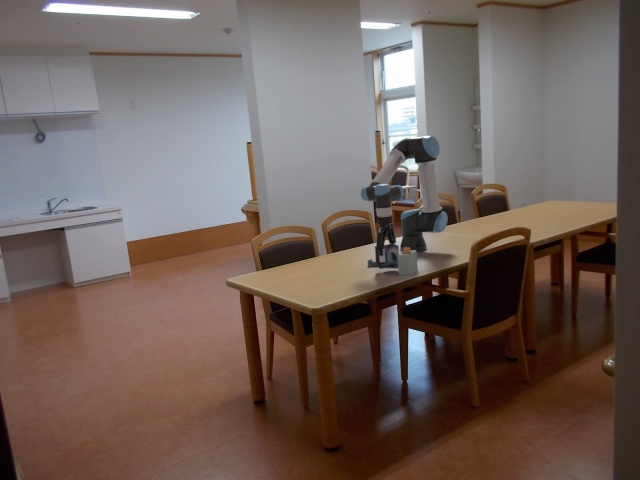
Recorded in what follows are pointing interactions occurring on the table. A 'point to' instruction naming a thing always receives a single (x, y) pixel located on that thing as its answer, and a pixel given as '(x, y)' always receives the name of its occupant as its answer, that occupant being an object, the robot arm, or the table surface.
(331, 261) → the table surface
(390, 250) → the small box
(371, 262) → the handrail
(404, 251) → the button
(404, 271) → the end cabinet
